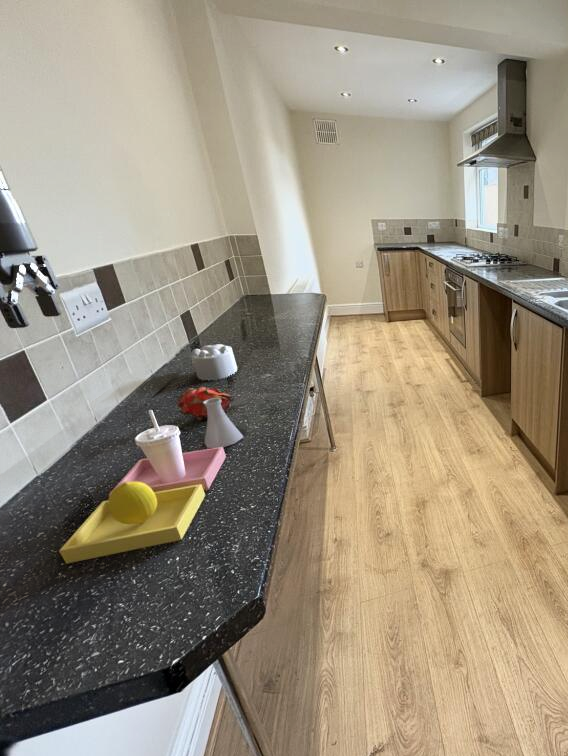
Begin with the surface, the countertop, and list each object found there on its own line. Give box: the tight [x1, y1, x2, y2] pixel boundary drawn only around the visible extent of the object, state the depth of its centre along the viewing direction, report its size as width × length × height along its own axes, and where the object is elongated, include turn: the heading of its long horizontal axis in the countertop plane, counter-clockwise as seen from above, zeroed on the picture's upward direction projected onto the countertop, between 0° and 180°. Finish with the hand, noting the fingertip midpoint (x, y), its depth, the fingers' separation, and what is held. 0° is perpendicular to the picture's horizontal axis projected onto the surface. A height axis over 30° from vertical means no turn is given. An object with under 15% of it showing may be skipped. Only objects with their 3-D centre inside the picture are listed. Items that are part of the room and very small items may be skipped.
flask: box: [203, 398, 244, 449], centre depth 90 cm, size 7×7×10 cm
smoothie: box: [134, 409, 186, 483], centre depth 76 cm, size 6×6×14 cm
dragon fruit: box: [176, 386, 235, 421], centre depth 102 cm, size 8×8×12 cm
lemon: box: [107, 482, 157, 525], centre depth 65 cm, size 6×6×8 cm
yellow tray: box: [58, 484, 206, 565], centre depth 66 cm, size 14×12×2 cm
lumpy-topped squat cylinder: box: [190, 343, 238, 382], centre depth 130 cm, size 10×13×9 cm
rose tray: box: [108, 447, 227, 497], centre depth 78 cm, size 14×12×2 cm
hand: (37, 321), depth 71 cm, fingers open, 8 cm apart
